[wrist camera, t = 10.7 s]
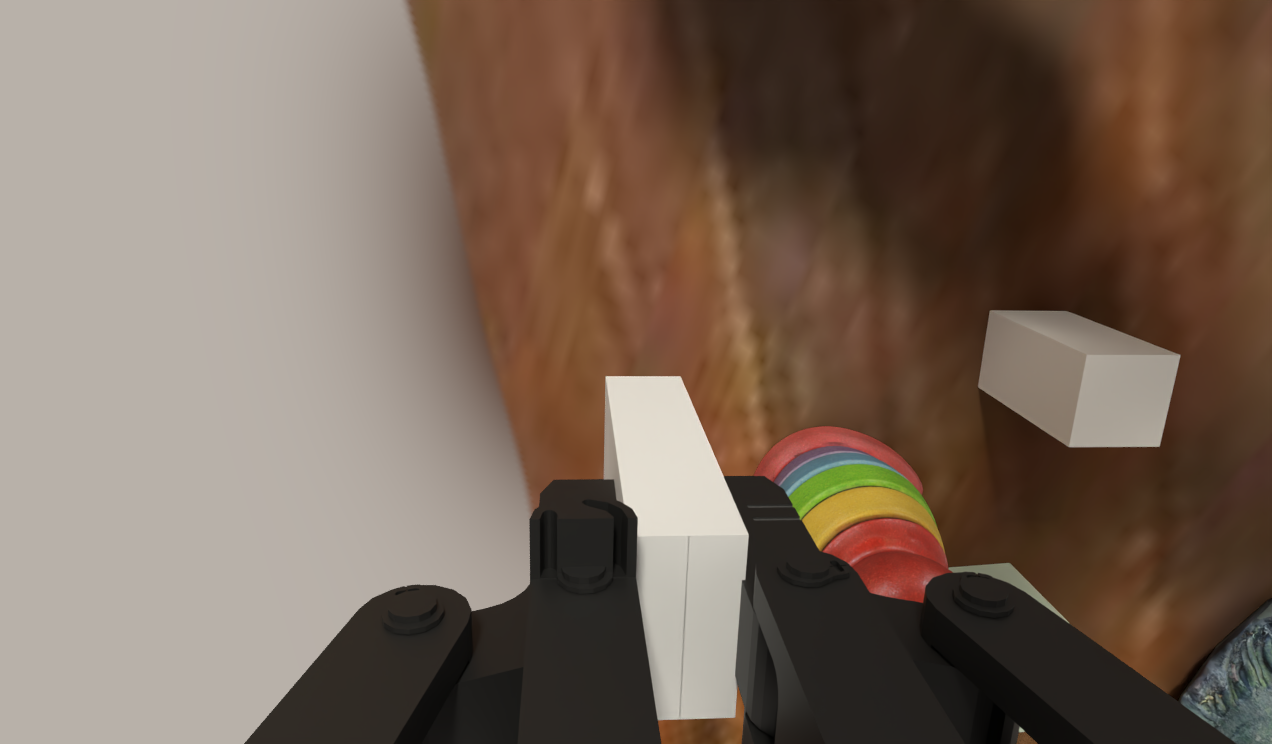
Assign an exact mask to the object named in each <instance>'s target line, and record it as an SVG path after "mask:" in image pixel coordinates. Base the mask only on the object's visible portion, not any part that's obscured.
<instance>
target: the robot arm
mask: <svg viewBox="0 0 1272 744" xmlns="http://www.w3.org/2000/svg"><path fill="white" fill-rule="evenodd" d="M737 685H738V687H739V690H740V693H741V697H742V700H743V703H744V707H745V709H744V722H743V735H742V744H1016V743H1017V738H1018V733H1019V728H1020V727H1021V728H1022V729H1023V730H1024V731H1025V732H1026V733H1027V734H1028V735H1029V736H1030V737H1032V738H1033V739H1034V740H1035V741H1036V742H1037V743H1038V744H1237V743H1235V742H1234V741H1232V740H1231V739H1230V738H1228V737H1227V736H1225V735H1224V734H1223V733H1221V732H1220V731H1218V730H1217V729H1216V728H1214V727H1213V726H1211V725H1210V724H1209V723H1207V722H1206V721H1205V720H1203V719H1202V718H1200V717H1199V716H1198V715H1196V714H1195V713H1193V712H1192V711H1191V710H1189V709H1188V708H1186V707H1185V706H1184V705H1182V704H1181V703H1179V702H1178V701H1177V700H1175V699H1174V698H1172V697H1171V696H1170V695H1168V694H1167V693H1165V692H1164V691H1163V690H1161V689H1160V688H1158V687H1157V686H1156V685H1154V684H1153V683H1151V682H1150V681H1149V680H1147V679H1146V678H1145V677H1143V676H1142V675H1140V674H1139V673H1138V672H1136V671H1135V670H1133V669H1132V668H1131V667H1129V666H1128V665H1126V664H1125V663H1124V662H1122V661H1121V660H1119V659H1118V658H1117V657H1115V656H1114V655H1112V654H1111V653H1110V652H1108V651H1107V650H1105V649H1104V648H1103V647H1101V646H1100V645H1098V644H1097V643H1096V642H1094V641H1093V640H1092V639H1090V638H1089V637H1087V636H1086V635H1085V634H1083V633H1082V632H1080V631H1079V630H1078V629H1076V628H1075V627H1073V626H1072V625H1071V624H1069V623H1068V622H1066V621H1065V620H1064V619H1062V618H1061V617H1059V616H1058V615H1057V614H1055V613H1054V612H1052V611H1051V610H1050V609H1048V608H1047V607H1045V606H1044V605H1043V604H1041V603H1040V602H1038V601H1037V600H1036V599H1034V598H1033V597H1032V596H1030V595H1029V594H1027V593H1026V592H1024V591H1022V590H1021V589H1019V588H1017V587H1015V586H1013V585H1012V584H1010V583H1008V582H1005V581H1002V580H999V579H996V578H993V577H992V576H990V575H987V574H982V573H978V574H976V573H975V572H957V573H945V574H942V575H939V576H936V577H933V578H932V579H931V580H930V581H929V583H928V584H927V585H926V587H925V594H924V600H923V603H922V602H916V601H910V600H904V599H897V598H891V597H886V596H882V595H878V594H873V593H870V592H869V590H868V589H867V587H866V585H865V584H864V582H863V581H862V579H861V578H860V576H859V574H858V573H857V572H856V571H855V570H854V569H853V568H852V567H851V566H850V565H849V564H848V563H847V562H845V561H843V560H841V559H840V558H838V557H836V556H834V555H832V554H828V553H825V552H821V551H819V549H818V547H817V546H816V544H815V542H814V540H813V539H812V537H811V535H810V533H809V532H808V530H807V528H806V527H805V525H804V523H803V521H802V520H800V516H799V514H798V513H797V511H796V509H795V508H794V507H793V504H792V502H791V501H790V499H789V497H788V495H787V494H786V492H785V490H784V489H783V488H781V487H780V486H778V485H777V484H775V483H774V482H772V481H771V480H769V479H768V478H766V477H765V476H723V474H722V472H721V470H720V467H719V465H718V463H717V460H716V458H715V456H714V453H713V451H712V449H711V446H710V444H709V442H708V439H707V437H706V435H705V432H704V430H703V428H702V425H701V423H700V421H699V418H698V416H697V414H696V412H695V409H694V407H693V405H692V402H691V400H690V398H689V395H688V393H687V391H686V388H685V386H684V384H683V381H682V379H681V377H680V376H606V385H605V444H604V479H598V480H553V481H552V482H551V483H550V484H549V485H548V486H547V487H546V488H545V489H544V490H543V491H542V492H541V493H540V504H539V507H538V508H537V509H535V510H534V512H533V514H532V516H531V518H530V585H529V586H528V587H527V589H526V590H525V591H523V592H522V593H521V594H519V595H518V596H517V597H515V598H513V599H511V600H509V601H507V602H505V603H502V604H500V605H496V606H493V607H489V608H485V609H481V610H476V611H472V612H471V608H470V606H469V603H468V601H467V599H466V598H465V597H463V596H462V595H461V594H459V593H457V592H456V591H454V590H452V589H448V588H444V587H440V586H436V585H410V586H407V587H400V588H396V589H393V590H390V591H388V592H386V593H383V594H381V595H379V596H376V597H374V598H372V599H371V600H370V601H369V602H367V603H366V604H365V605H364V606H362V607H361V608H360V609H359V610H358V611H357V612H356V613H355V614H354V616H353V617H352V618H351V619H350V621H349V622H348V623H347V624H346V625H345V626H344V627H343V629H342V630H341V631H340V632H339V633H338V634H337V636H336V637H335V638H334V639H333V640H332V641H331V643H330V644H329V645H328V646H327V647H326V648H325V650H324V651H323V652H322V653H321V654H320V656H319V657H318V658H317V659H316V660H315V661H314V663H313V664H312V665H311V666H310V667H309V668H308V670H307V671H306V672H305V673H304V674H303V675H302V677H301V678H300V679H299V680H298V681H297V682H296V684H295V685H294V686H293V688H291V689H290V691H289V692H288V693H287V694H286V695H285V697H284V698H283V699H282V700H281V701H280V702H279V704H278V705H277V706H276V707H275V708H274V709H273V711H272V712H271V713H270V714H269V715H268V716H267V718H266V719H265V720H264V721H263V722H262V723H261V725H260V726H259V727H258V728H257V729H256V730H255V732H254V733H253V734H252V735H251V736H250V738H249V739H248V740H247V741H246V742H245V743H244V744H661V739H660V732H659V725H658V720H675V719H706V718H735V711H736V698H737Z"/></svg>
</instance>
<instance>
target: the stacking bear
mask: <svg viewBox="0 0 1272 744" xmlns="http://www.w3.org/2000/svg"><path fill="white" fill-rule="evenodd" d="M754 476H765V477H766V478H768V479H769V480H771V481H772V482H774V483H775V484H777V485H778V486H780V487H781V488H783V489H784V490H785V492H786V494H787V495H788V497H789V499H790V501H791V502H792V504H793V507H794V508H795V509H796V511H797V513H798V514H799V516H800V520H802V521H803V523H804V525H805V527H806V528H807V530H808V532H809V533H810V535H811V537H812V539H813V540H814V542H815V544H816V546H817V547H818V549H819V551H821V552H825V553H828V554H832V555H834V556H836V557H838V558H840V559H841V560H843V561H845V562H847V563H848V564H849V565H850V566H851V567H852V568H853V569H854V570H855V571H856V572H857V573H858V574H859V576H860V578H861V579H862V581H863V582H864V584H865V585H866V587H867V589H868V590H869V592H870V593H873V594H878V595H882V596H886V597H891V598H897V599H904V600H910V601H916V602H922V603H923V600H924V594H925V587H926V585H927V584H928V583H929V581H930V580H931V579H932V578H933V577H936V576H939V575H942V574H945V573H953V572H952V571H950V570H949V569H948V563H947V558H946V555H945V550H944V546H943V543H942V539H941V536H940V533H939V531H938V529H937V525H936V522H935V519H934V517H933V514H932V512H931V510H930V508H929V506H928V505H927V503H926V501H925V500H924V498H923V497H922V493H923V487H922V483H921V481H920V479H919V477H918V476H917V474H916V473H915V471H914V470H913V469H912V468H911V466H910V465H909V464H908V463H907V462H906V461H905V460H904V459H903V458H902V457H901V456H900V455H898V454H897V453H896V452H895V451H894V450H892V449H891V448H890V447H888V446H887V445H885V444H883V443H882V442H880V441H878V440H876V439H874V438H872V437H870V436H868V435H865V434H862V433H860V432H857V431H853V430H849V429H845V428H839V427H829V426H821V427H813V428H808V429H804V430H801V431H798V432H796V433H793V434H791V435H789V436H788V437H786V438H784V439H783V440H781V441H780V442H778V443H777V444H776V445H775V446H774V447H773V448H772V449H771V450H770V451H769V452H768V453H767V454H766V455H765V456H764V458H763V459H762V461H761V462H760V464H759V466H758V467H757V469H756V471H755V474H754Z"/></svg>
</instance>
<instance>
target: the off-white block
mask: <svg viewBox="0 0 1272 744" xmlns="http://www.w3.org/2000/svg"><path fill="white" fill-rule="evenodd" d="M1180 356H1181V355H1179V354H1176V353H1174V352H1171V351H1169V350H1166V349H1163V348H1161V347H1158V346H1156V345H1153V344H1151V343H1148V342H1145V341H1143V340H1140V339H1138V338H1135V337H1133V336H1130V335H1127V334H1125V333H1122V332H1120V331H1117V330H1115V329H1112V328H1109V327H1107V326H1104V325H1102V324H1099V323H1097V322H1094V321H1091V320H1089V319H1086V318H1084V317H1081V316H1079V315H1076V314H1073V313H1071V312H1068V311H1010V310H990V313H989V319H988V325H987V332H986V338H985V345H984V351H983V357H982V364H981V370H980V377H979V383H978V388H980V389H981V390H983V391H984V392H986V393H987V394H989V395H990V396H992V397H993V398H995V399H997V400H998V401H1000V402H1001V403H1003V404H1004V405H1006V406H1007V407H1009V408H1010V409H1012V410H1013V411H1015V412H1016V413H1018V414H1019V415H1021V416H1022V417H1024V418H1025V419H1027V420H1028V421H1030V422H1031V423H1033V424H1034V425H1036V426H1037V427H1039V428H1040V429H1042V430H1044V431H1045V432H1047V433H1048V434H1050V435H1051V436H1053V437H1054V438H1056V439H1057V440H1059V441H1060V442H1062V443H1063V444H1065V445H1066V446H1068V447H1160V443H1161V439H1162V434H1163V430H1164V425H1165V421H1166V417H1167V412H1168V408H1169V404H1170V399H1171V395H1172V391H1173V386H1174V382H1175V378H1176V373H1177V369H1178V365H1179V360H1180Z"/></svg>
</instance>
